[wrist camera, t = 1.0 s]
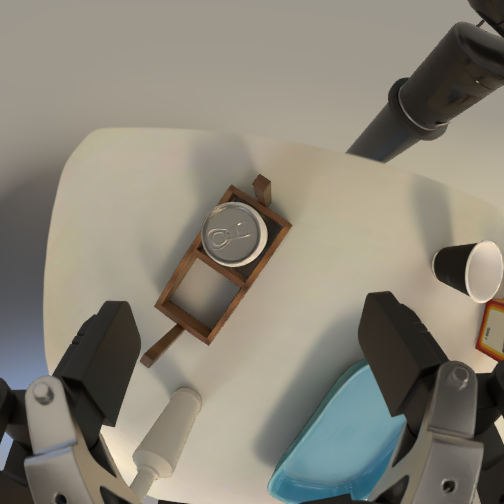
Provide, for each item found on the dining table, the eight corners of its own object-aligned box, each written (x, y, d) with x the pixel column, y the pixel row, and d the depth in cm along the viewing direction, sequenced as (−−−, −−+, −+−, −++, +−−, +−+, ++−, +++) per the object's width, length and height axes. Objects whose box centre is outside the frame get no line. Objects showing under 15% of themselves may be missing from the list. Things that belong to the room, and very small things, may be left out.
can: (213, 221, 38) (187, 214, 26) (258, 204, 37) (251, 189, 25) (229, 265, 38) (210, 278, 26) (274, 249, 37) (275, 255, 25)
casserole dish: (355, 318, 37) (371, 334, 30) (451, 358, 36) (473, 373, 29) (251, 475, 40) (247, 501, 32) (345, 493, 39) (350, 515, 32)
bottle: (192, 416, 40) (138, 528, 15) (167, 398, 40) (96, 502, 15) (209, 400, 39) (158, 521, 14) (183, 380, 39) (111, 492, 14)
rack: (240, 181, 37) (222, 150, 23) (295, 218, 37) (309, 207, 23) (159, 307, 39) (110, 337, 25) (209, 343, 39) (180, 391, 25)
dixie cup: (422, 290, 36) (463, 306, 25) (424, 238, 35) (467, 239, 25) (458, 288, 35) (500, 300, 24) (460, 239, 35) (504, 240, 24)
